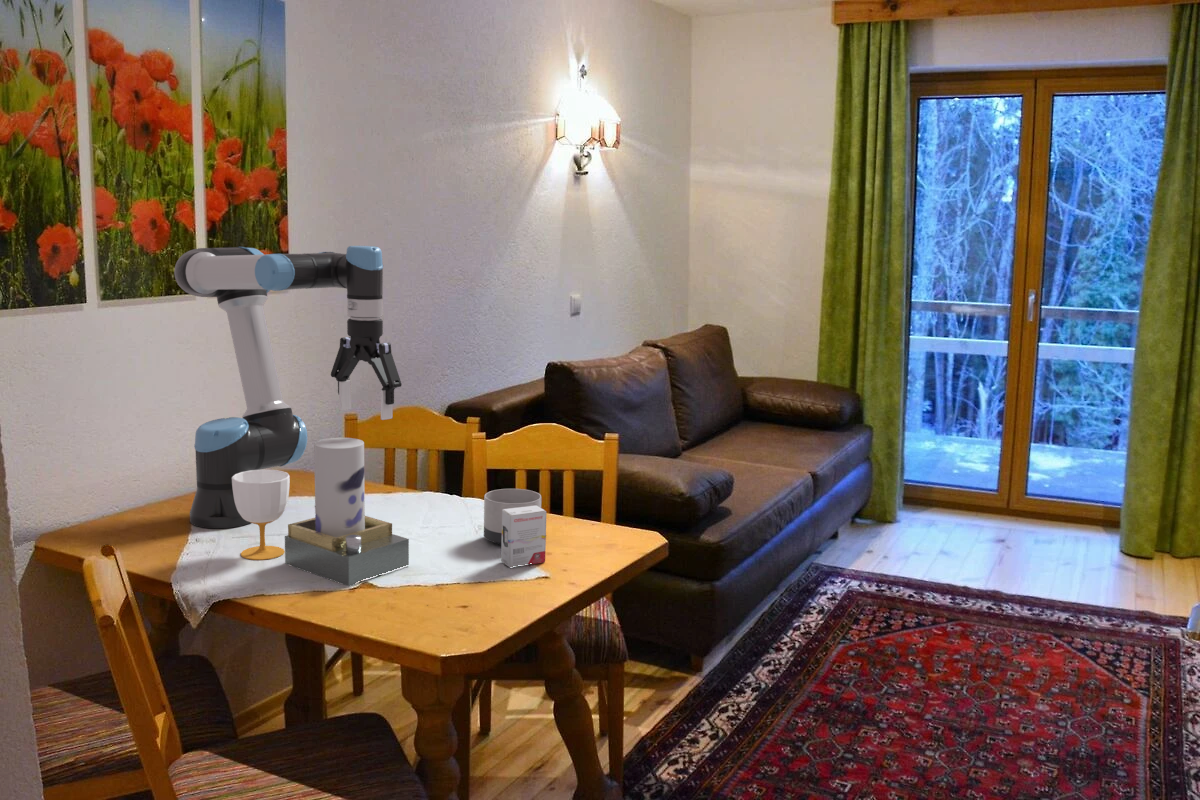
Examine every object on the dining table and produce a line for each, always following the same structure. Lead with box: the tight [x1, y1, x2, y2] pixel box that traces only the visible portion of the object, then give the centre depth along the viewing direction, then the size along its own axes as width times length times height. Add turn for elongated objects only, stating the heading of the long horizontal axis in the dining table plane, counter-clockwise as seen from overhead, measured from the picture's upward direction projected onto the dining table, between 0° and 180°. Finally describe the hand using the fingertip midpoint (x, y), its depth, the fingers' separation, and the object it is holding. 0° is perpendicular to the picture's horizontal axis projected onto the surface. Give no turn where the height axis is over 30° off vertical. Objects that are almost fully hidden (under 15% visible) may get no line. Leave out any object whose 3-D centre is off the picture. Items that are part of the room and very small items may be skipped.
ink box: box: [500, 505, 547, 568], centre depth 233 cm, size 9×5×12 cm, turn 119°
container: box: [313, 437, 366, 537], centre depth 227 cm, size 10×10×20 cm
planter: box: [483, 488, 542, 546], centre depth 248 cm, size 13×13×10 cm
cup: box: [232, 469, 291, 561], centre depth 233 cm, size 12×12×17 cm
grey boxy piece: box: [284, 515, 410, 587], centre depth 228 cm, size 20×16×9 cm
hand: (365, 414), depth 241 cm, fingers open, 13 cm apart
